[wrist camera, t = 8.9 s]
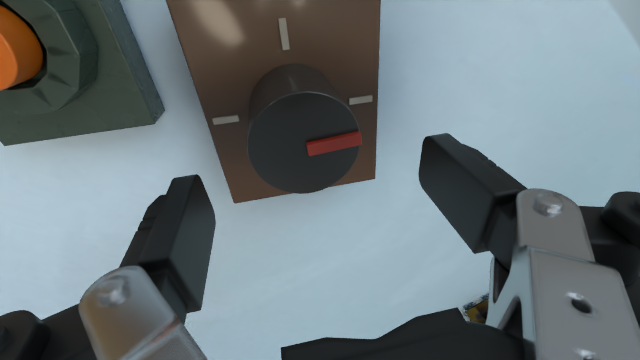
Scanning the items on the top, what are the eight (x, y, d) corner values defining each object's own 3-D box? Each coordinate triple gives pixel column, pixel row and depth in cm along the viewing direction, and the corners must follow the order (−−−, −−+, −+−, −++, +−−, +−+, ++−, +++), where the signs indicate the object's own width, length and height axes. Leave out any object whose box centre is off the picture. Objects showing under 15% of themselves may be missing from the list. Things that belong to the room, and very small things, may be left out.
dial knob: (263, 155, 18) (264, 207, 14) (237, 73, 15) (229, 108, 11) (341, 138, 18) (366, 184, 14) (331, 54, 15) (358, 81, 11)
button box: (-134, -94, 12) (-284, -124, 8) (74, -109, 12) (8, -142, 9) (30, 129, 17) (-23, 163, 14) (165, 110, 18) (144, 138, 15)
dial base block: (178, -7, 15) (162, -5, 12) (363, -27, 16) (383, -28, 13) (236, 179, 22) (233, 205, 19) (363, 158, 23) (376, 180, 20)
